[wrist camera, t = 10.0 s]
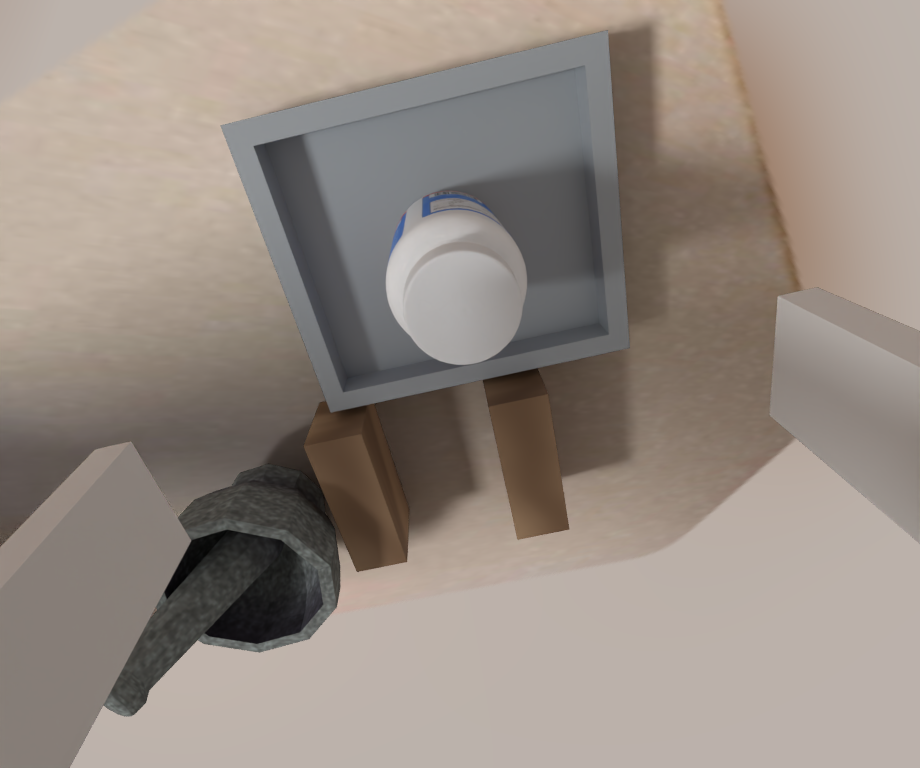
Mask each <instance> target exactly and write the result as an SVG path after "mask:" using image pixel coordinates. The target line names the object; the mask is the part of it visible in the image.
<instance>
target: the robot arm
mask: <svg viewBox="0 0 920 768" xmlns="http://www.w3.org/2000/svg"><path fill="white" fill-rule="evenodd" d="M770 416H771V417H772V418H773V419H774V420H776V421H777V422H778V423H779V424H780V425H781V426H783V427H784V428H785V429H786V430H787V431H788V432H790V433H791V434H792V435H793V436H794V437H795V438H797V439H798V440H799V441H800V442H801V443H802V444H804V445H805V446H806V447H807V448H808V449H810V450H811V451H812V452H813V453H814V454H815V455H816V456H818V457H819V458H820V459H821V460H822V461H823V462H825V463H826V464H827V465H828V466H829V467H831V468H832V469H833V470H834V471H835V472H836V473H838V474H839V475H840V476H841V477H842V478H844V479H845V480H846V481H847V482H848V483H849V484H850V485H852V486H853V487H854V488H855V489H856V490H857V491H859V492H860V493H861V494H862V495H863V496H865V497H866V498H867V499H868V500H869V501H870V502H871V503H873V504H874V505H875V506H876V507H877V508H878V509H880V510H881V511H882V512H883V513H885V514H886V515H887V516H888V517H889V518H890V519H891V520H893V521H894V522H895V523H896V524H897V525H898V526H900V527H901V528H902V529H903V530H904V531H906V532H907V533H908V534H909V535H910V536H912V538H914V539H915V540H916V541H917V542H918V543H919V544H920V331H918V330H916V329H913V328H911V327H909V326H906V325H904V324H902V323H900V322H897V321H895V320H893V319H890V318H888V317H886V316H883V315H881V314H879V313H876V312H874V311H872V310H869V309H867V308H865V307H862V306H860V305H858V304H855V303H853V302H851V301H848V300H846V299H844V298H841V297H839V296H837V295H834V294H832V293H830V292H827V291H825V290H823V289H820V288H818V287H816V288H812V289H807V290H802V291H798V292H793V293H789V294H784V295H780V296H778V299H777V314H776V328H775V343H774V357H773V372H772V386H771V401H770ZM190 542H191V539H190V538H189V536H188V534H187V533H186V531H185V529H184V528H183V526H182V524H181V523H180V521H179V519H178V518H177V516H176V515H175V513H174V511H173V510H172V508H171V506H170V505H169V503H168V501H167V500H166V498H165V496H164V495H163V493H162V491H161V490H160V488H159V486H158V485H157V483H156V482H155V480H154V478H153V477H152V475H151V473H150V472H149V470H148V468H147V467H146V465H145V463H144V462H143V460H142V458H141V457H140V455H139V453H138V452H137V450H136V449H135V447H134V445H133V444H132V442H131V441H130V442H126V443H121V444H117V445H112V446H108V447H103V448H99V449H95V450H94V451H93V452H92V453H91V454H90V455H89V456H88V457H87V458H86V459H85V460H84V461H83V462H82V463H81V464H80V465H79V466H78V467H77V469H76V470H75V471H74V472H73V473H72V474H71V475H70V476H69V477H68V478H67V479H66V480H65V481H64V482H63V483H62V484H61V485H60V486H59V487H58V488H57V489H56V490H55V491H54V492H53V493H52V494H51V495H50V496H49V497H48V498H47V499H46V500H45V501H44V503H43V504H42V505H41V506H40V507H39V508H38V509H37V510H36V511H35V512H34V513H33V514H32V515H31V516H30V517H29V518H28V519H27V520H26V521H25V522H24V523H23V524H22V525H21V526H20V527H19V528H18V529H17V530H16V531H15V532H14V533H13V534H12V535H11V536H10V538H9V539H8V540H7V541H6V542H5V543H4V544H3V545H2V546H1V547H0V768H70V766H71V764H72V762H73V760H74V759H75V757H76V755H77V753H78V751H79V749H80V748H81V746H82V744H83V742H84V740H85V738H86V736H87V735H88V733H89V731H90V729H91V727H92V725H93V723H94V721H95V720H96V718H97V716H98V714H99V712H100V710H101V708H102V707H103V705H104V703H105V701H106V699H107V697H108V695H109V694H110V692H111V690H112V688H113V686H114V684H115V682H116V680H117V679H118V677H119V675H120V673H121V671H122V669H123V667H124V666H125V664H126V662H127V660H128V658H129V656H130V654H131V652H132V651H133V649H134V647H135V645H136V643H137V641H138V639H139V638H140V636H141V634H142V632H143V630H144V628H145V626H146V624H147V623H148V621H149V619H150V617H151V615H152V613H153V611H154V610H155V608H156V606H157V604H158V602H159V600H160V598H161V596H162V595H163V593H164V591H165V589H166V587H167V585H168V583H169V582H170V580H171V578H172V576H173V574H174V572H175V570H176V568H177V567H178V565H179V563H180V561H181V559H182V557H183V555H184V554H185V552H186V550H187V548H188V546H189V544H190Z"/></svg>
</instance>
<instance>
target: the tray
mask: <svg viewBox="0 0 920 768" xmlns="http://www.w3.org/2000/svg"><path fill="white" fill-rule="evenodd" d="M220 126H221V128H222V131H223V134H224V136H225V139H226V141H227V144H228V147H229V149H230V152H231V154H232V157H233V160H234V162H235V165H236V167H237V170H238V173H239V175H240V178H241V180H242V183H243V186H244V188H245V191H246V194H247V196H248V199H249V201H250V204H251V207H252V209H253V212H254V214H255V217H256V220H257V222H258V225H259V227H260V230H261V233H262V235H263V238H264V240H265V243H266V246H267V248H268V251H269V253H270V256H271V259H272V261H273V264H274V266H275V269H276V272H277V274H278V277H279V279H280V282H281V285H282V287H283V290H284V292H285V295H286V298H287V300H288V303H289V306H290V308H291V311H292V313H293V316H294V319H295V321H296V324H297V326H298V329H299V332H300V334H301V337H302V339H303V342H304V345H305V347H306V350H307V352H308V355H309V358H310V360H311V363H312V365H313V368H314V371H315V373H316V376H317V378H318V381H319V384H320V386H321V389H322V391H323V394H324V397H325V399H326V402H327V405H328V407H329V410H330V412H331V413H332V412H336V411H341V410H346V409H350V408H355V407H359V406H364V405H369V404H373V403H378V402H383V401H387V400H392V399H396V398H401V397H406V396H410V395H415V394H420V393H424V392H429V391H433V390H438V389H443V388H447V387H452V386H457V385H461V384H466V383H470V382H475V381H480V380H484V379H489V378H494V377H498V376H503V375H508V374H512V373H517V372H521V371H526V370H531V369H535V368H540V367H545V366H549V365H554V364H558V363H563V362H568V361H572V360H577V359H582V358H586V357H591V356H595V355H600V354H605V353H609V352H614V351H619V350H623V349H628V348H630V344H629V329H628V315H627V300H626V286H625V271H624V257H623V243H622V228H621V214H620V199H619V185H618V170H617V156H616V141H615V127H614V112H613V98H612V84H611V69H610V55H609V40H608V30H606V31H602V32H598V33H594V34H590V35H586V36H582V37H578V38H574V39H570V40H566V41H562V42H558V43H554V44H550V45H545V46H541V47H537V48H533V49H529V50H525V51H521V52H517V53H513V54H509V55H505V56H501V57H497V58H493V59H489V60H485V61H480V62H476V63H472V64H468V65H464V66H460V67H456V68H452V69H448V70H444V71H440V72H436V73H432V74H428V75H424V76H420V77H415V78H411V79H407V80H403V81H399V82H395V83H391V84H387V85H383V86H379V87H375V88H371V89H367V90H363V91H359V92H355V93H350V94H346V95H342V96H338V97H334V98H330V99H326V100H322V101H318V102H314V103H310V104H306V105H302V106H298V107H294V108H290V109H285V110H281V111H277V112H273V113H269V114H265V115H261V116H257V117H253V118H249V119H245V120H241V121H237V122H233V123H229V124H225V125H220ZM441 191H457V192H462V193H465V194H468V195H471V196H473V197H475V198H477V199H478V200H480V201H481V202H483V203H484V204H485V205H486V206H487V207H488V208H489V209H490V210H491V211H492V213H493V214H494V215H495V217H496V218H497V219H498V220H499V222H500V223H501V224H502V225H503V227H504V228H505V229H506V230H507V232H508V233H509V234H510V235H511V237H512V238H513V240H514V241H515V243H516V245H517V246H518V248H519V250H520V252H521V254H522V257H523V260H524V263H525V266H526V273H527V291H526V297H525V301H524V304H523V310H522V317H521V320H520V324H519V327H518V329H517V331H516V333H515V335H514V337H513V338H512V340H511V341H510V342H509V343H508V344H507V346H505V347H504V348H503V349H502V350H501V351H500V352H499V353H498V354H496V355H494V356H493V357H491V358H489V359H487V360H484V361H481V362H479V363H474V364H468V365H455V364H450V363H445V362H442V361H439V360H437V359H435V358H433V357H431V356H429V355H428V354H426V353H425V352H424V351H423V350H422V349H420V348H419V347H418V346H417V344H416V343H415V342H414V341H413V339H412V338H411V336H410V335H409V334H407V333H406V332H405V331H404V329H403V328H402V327H401V326H400V325H399V323H398V322H397V320H396V319H395V317H394V315H393V313H392V311H391V308H390V306H389V303H388V298H387V293H386V271H387V265H388V261H389V256H390V251H391V247H392V242H393V237H394V233H395V230H396V227H397V225H398V223H399V221H400V219H401V217H402V216H403V214H404V213H405V212H406V210H407V209H408V208H409V207H410V206H411V205H412V204H413V203H415V202H416V201H417V200H419V199H421V198H422V197H424V196H426V195H429V194H432V193H436V192H441Z"/></svg>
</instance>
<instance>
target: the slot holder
mask: <svg viewBox="0 0 920 768" xmlns="http://www.w3.org/2000/svg"><path fill="white" fill-rule="evenodd" d="M483 383H484V388H485V392H486V397H487V402H488V407H489V412H490V416H491V421H492V425H493V430H494V434H495V439H496V444H497V448H498V453H499V457H500V462H501V466H502V471H503V475H504V480H505V485H506V489H507V494H508V498H509V503H510V507H511V512H512V517H513V521H514V526H515V530H516V535H517V539H518V540H519V539H524V538H529V537H533V536H538V535H543V534H548V533H553V532H558V531H563V530H568V529H569V524H568V518H567V511H566V505H565V498H564V492H563V485H562V479H561V473H560V466H559V460H558V453H557V447H556V440H555V434H554V428H553V421H552V415H551V408H550V402H549V395H548V392H547V390H546V388H545V385H544V383H543V381H542V378H541V376H540V374H539V371H538V369H537V368H535V369H531V370H526V371H521V372H517V373H512V374H508V375H503V376H498V377H494V378H489V379H484V380H483ZM303 447H304V449H305V451H306V454H307V456H308V458H309V461H310V463H311V465H312V468H313V470H314V472H315V475H316V477H317V479H318V482H319V484H320V487H321V489H322V491H323V494H324V496H325V498H326V501H327V503H328V505H329V508H330V510H331V512H332V515H333V517H334V519H335V522H336V524H337V526H338V529H339V531H340V533H341V536H342V538H343V540H344V543H345V545H346V547H347V550H348V552H349V554H350V557H351V559H352V561H353V564H354V566H355V568H356V571H357V572H359V571H364V570H369V569H374V568H379V567H384V566H389V565H394V564H399V563H404V562H407V554H408V532H409V507H408V504H407V501H406V498H405V495H404V492H403V489H402V486H401V483H400V480H399V477H398V474H397V471H396V468H395V465H394V462H393V459H392V456H391V453H390V450H389V447H388V444H387V441H386V438H385V435H384V432H383V429H382V426H381V423H380V420H379V417H378V414H377V411H376V408H375V405H374V403H373V404H369V405H364V406H359V407H355V408H350V409H346V410H341V411H336V412H332V413H331V412H330V410H329V407H328V405H327V402H326V401H325V402H320V403H319V406H318V408H317V411H316V414H315V416H314V419H313V422H312V424H311V427H310V430H309V433H308V435H307V438H306V441H305V443H304V446H303Z"/></svg>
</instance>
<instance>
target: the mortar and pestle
mask: <svg viewBox="0 0 920 768" xmlns="http://www.w3.org/2000/svg"><path fill="white" fill-rule="evenodd" d="M178 519H179V521H180V523H181V524H182V526H183V528H184V529H185V531H186V533H187V534H188V536H189V538H190V539H191V542H190V544H189V546H188V548H187V550H186V552H185V554H184V555H183V557H182V559H181V561H180V563H179V565H178V567H177V568H176V570H175V572H174V574H173V576H172V578H171V580H170V582H169V583H168V585H167V587H166V589H165V591H164V593H163V595H162V596H161V598H160V600H159V602H158V604H157V606H156V608H157V611H156V612H155V614H154V615H153V616H152V617H151V618H150V619H149V621H148V623H147V624H146V626H145V628H144V630H143V632H142V634H141V636H140V638H139V639H138V641H137V643H136V645H135V647H134V649H133V651H132V652H131V654H130V656H129V658H128V660H127V662H126V664H125V666H124V667H123V669H122V671H121V673H120V675H119V677H118V679H117V680H116V682H115V684H114V686H113V688H112V690H111V692H110V694H109V695H108V697H107V699H106V701H105V703H104V706H105V707H106V708H108V709H109V710H111V711H113V712H115V713H117V714H119V715H122V716H132V715H134V714H135V713H136V712H137V711H138V710H139V709H140V708H141V707H142V706H143V705H144V704H145V703H146V701H147V697H148V693H149V690H150V689H151V688H152V687H153V686H154V685H155V684H156V682H158V681H159V680H160V678H161V677H162V676H163V675H164V674H165V673H166V672H167V671H168V670H169V669H170V668H171V667H172V666H173V665H174V664H175V663H176V662H177V661H178V660H179V659H180V658H181V657H182V656H183V655H184V653H186V652H187V650H188V649H189V648H190V647H191V646H192V645H193V644H194V643H195V642H196V641H197V640H199V641H200V642H202V643H204V644H208V645H215V646H222V647H228V648H234V649H241V650H247V651H254V652H263V651H266V650H270V649H274V648H278V647H282V646H285V645H289V644H293V643H296V642H300V641H303V640H307V639H310V637H311V636H312V635H313V634H314V633H315V632H316V630H317V629H318V628H319V627H320V626H321V625H322V623H323V622H324V621H325V620H326V619H327V618H328V617H329V615H330V614H331V613H332V612H333V611H334V610H335V608H336V607H337V603H338V597H339V592H340V562H339V555H338V548H337V541H336V534H335V528H334V526H333V524H332V523H331V521H330V519H329V517H328V515H326V513H325V506H324V500H323V493H322V490H321V489H320V488H319V487H318V486H317V485H315V484H314V483H313V482H312V481H311V480H310V479H309V478H308V477H307V476H305V475H304V474H303V473H302V472H301V471H298V470H294V469H289V468H284V467H280V466H275V465H271V464H267V465H264V466H261V467H257V468H254V469H251V470H248V471H245V472H241V473H240V474H239V475H238V477H237V478H236V480H235V481H234V483H233V484H232V486H231V487H228V488H224V489H221V490H218V491H215V492H212V493H210V494H207V495H205V496H203V497H200V498H198V499H195V500H194V501H193V502H192V503H191V504H190V505H189V506H188V507H187V508H186V509H185V510H184V511H183V513H182V514H181V515H180V516H179V517H178Z"/></svg>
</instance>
